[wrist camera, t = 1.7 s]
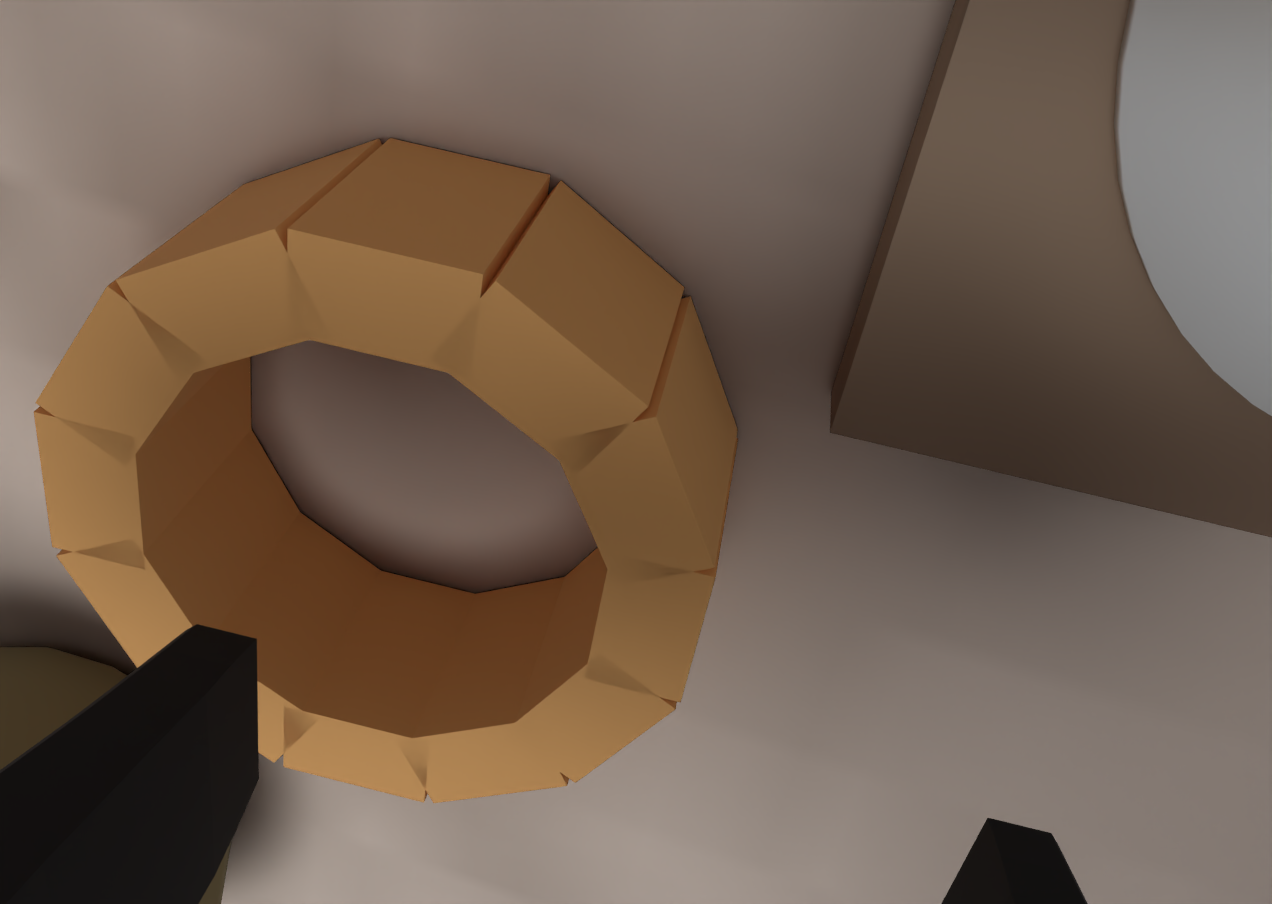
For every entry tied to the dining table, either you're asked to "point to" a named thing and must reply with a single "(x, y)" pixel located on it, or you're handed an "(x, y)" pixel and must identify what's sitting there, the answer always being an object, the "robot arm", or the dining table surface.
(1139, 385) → the walnut base plate
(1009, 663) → the dining table surface
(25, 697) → the squeeze bottle
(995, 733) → the dining table surface
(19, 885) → the robot arm
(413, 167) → the wooden ring
